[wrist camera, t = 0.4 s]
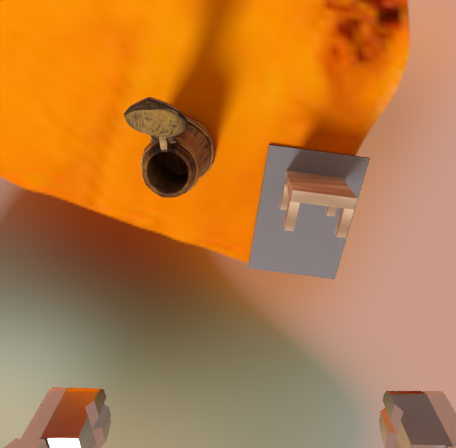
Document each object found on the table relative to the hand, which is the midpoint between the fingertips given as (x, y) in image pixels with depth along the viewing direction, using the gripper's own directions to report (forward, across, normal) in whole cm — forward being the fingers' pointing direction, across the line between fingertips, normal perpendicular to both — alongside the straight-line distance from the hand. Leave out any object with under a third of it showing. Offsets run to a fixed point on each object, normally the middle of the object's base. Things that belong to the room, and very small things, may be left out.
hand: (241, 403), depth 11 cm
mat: (+44, -8, +14) cm, 47 cm away
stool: (+44, -9, +10) cm, 46 cm away
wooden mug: (+44, +9, +1) cm, 45 cm away
